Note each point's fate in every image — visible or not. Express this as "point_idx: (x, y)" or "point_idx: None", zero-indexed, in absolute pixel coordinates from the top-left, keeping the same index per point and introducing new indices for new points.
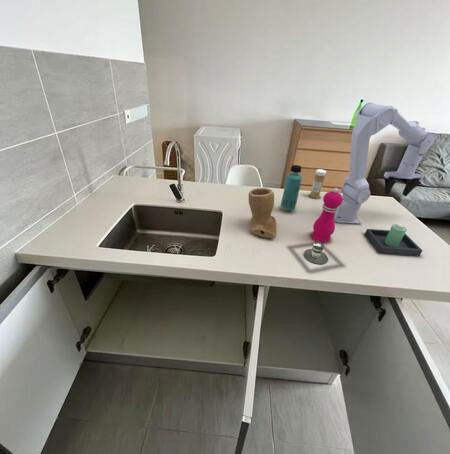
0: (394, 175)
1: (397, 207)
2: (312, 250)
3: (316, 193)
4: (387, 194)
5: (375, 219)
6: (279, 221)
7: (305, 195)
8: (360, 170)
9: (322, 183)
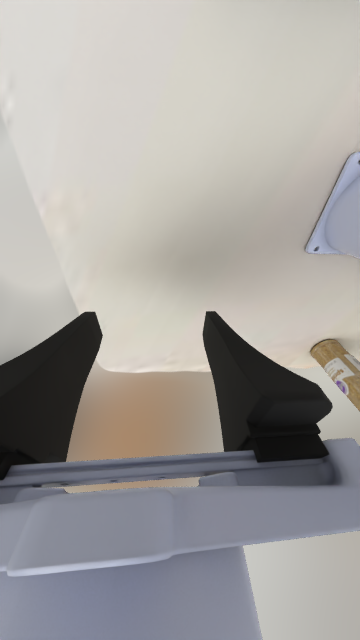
0: (325, 505)
1: None
2: None
3: (344, 351)
4: (213, 312)
5: (227, 219)
6: None
7: None
8: None
9: (358, 384)
